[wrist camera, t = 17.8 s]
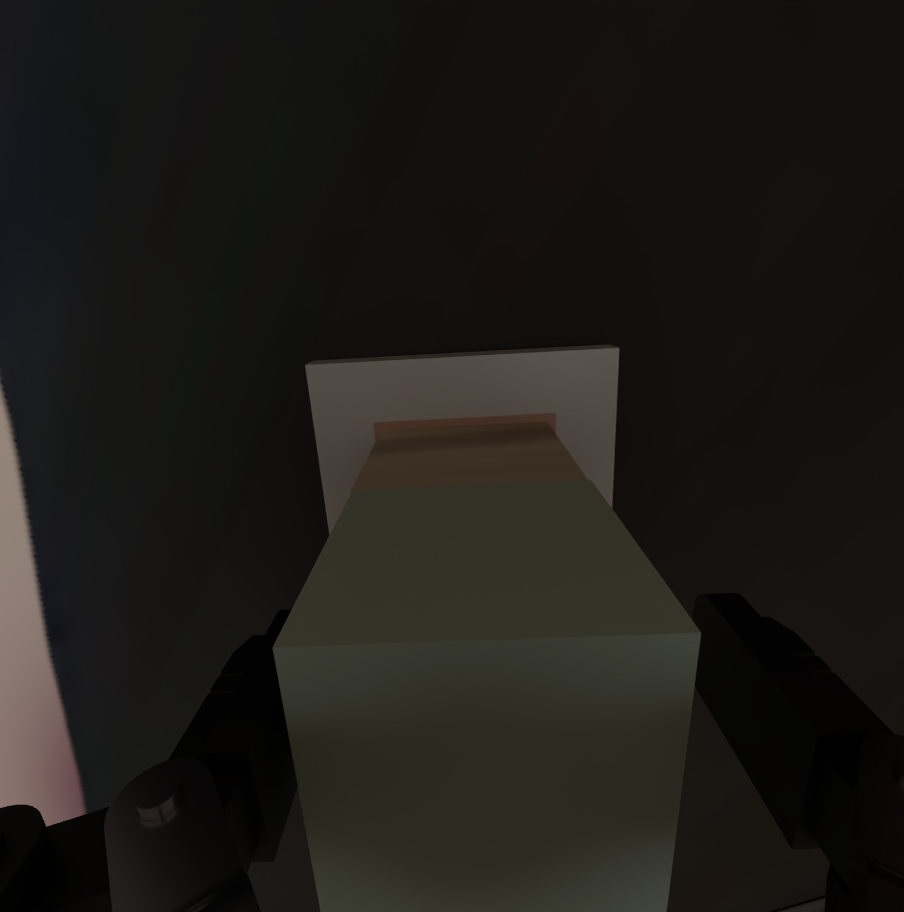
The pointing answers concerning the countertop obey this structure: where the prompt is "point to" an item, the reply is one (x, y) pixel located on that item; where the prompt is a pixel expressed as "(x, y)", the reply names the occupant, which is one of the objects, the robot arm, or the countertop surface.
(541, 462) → the beech block
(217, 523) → the countertop surface
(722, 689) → the robot arm
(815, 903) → the coffee box
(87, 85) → the countertop surface
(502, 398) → the plate
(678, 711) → the green block
